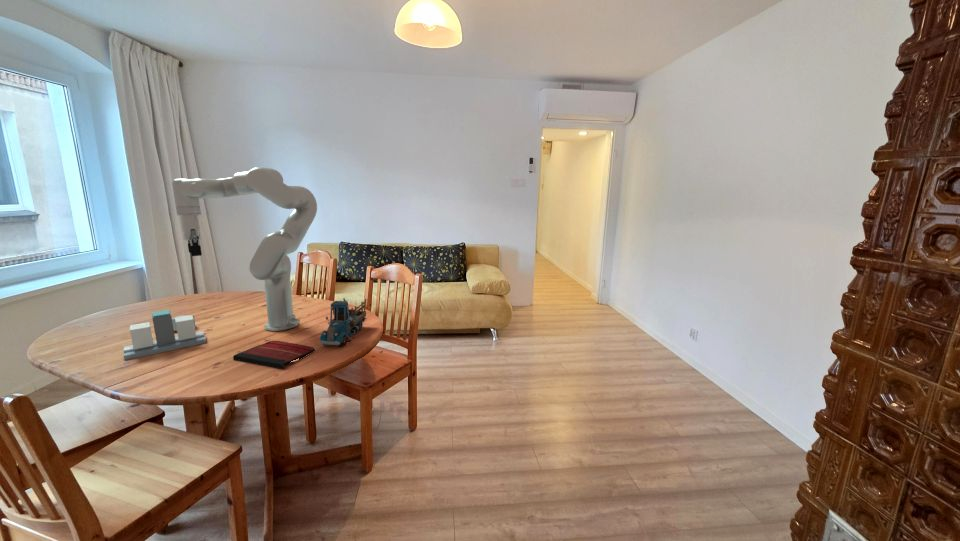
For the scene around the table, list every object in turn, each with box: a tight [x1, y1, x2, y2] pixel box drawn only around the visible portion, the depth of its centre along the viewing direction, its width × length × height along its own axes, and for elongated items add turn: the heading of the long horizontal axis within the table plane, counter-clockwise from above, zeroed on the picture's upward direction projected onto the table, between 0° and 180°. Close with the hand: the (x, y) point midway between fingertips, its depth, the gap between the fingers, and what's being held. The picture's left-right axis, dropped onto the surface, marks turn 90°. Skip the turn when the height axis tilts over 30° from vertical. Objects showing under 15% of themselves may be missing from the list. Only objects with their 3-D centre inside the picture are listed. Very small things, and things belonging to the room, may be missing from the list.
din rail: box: [123, 331, 205, 354], centre depth 131 cm, size 22×4×1 cm, turn 133°
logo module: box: [151, 309, 176, 345], centre depth 130 cm, size 5×6×10 cm
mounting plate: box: [123, 330, 207, 361], centre depth 132 cm, size 22×10×2 cm, turn 133°
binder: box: [233, 340, 316, 370], centre depth 127 cm, size 16×2×21 cm
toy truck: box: [319, 297, 367, 347], centre depth 142 cm, size 11×25×15 cm, turn 176°
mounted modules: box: [129, 314, 197, 349], centre depth 130 cm, size 17×6×7 cm, turn 133°
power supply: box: [172, 314, 197, 332], centre depth 148 cm, size 6×4×5 cm
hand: (195, 254), depth 146 cm, fingers open, 9 cm apart
